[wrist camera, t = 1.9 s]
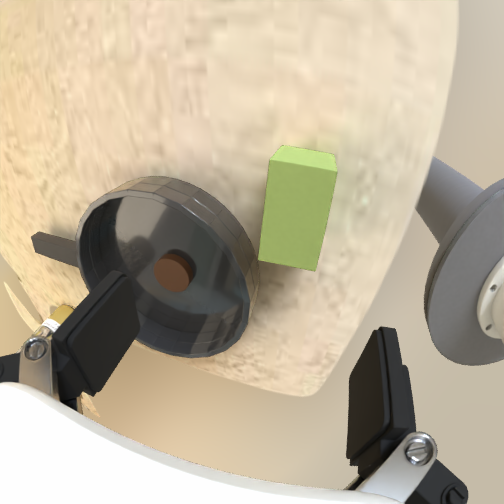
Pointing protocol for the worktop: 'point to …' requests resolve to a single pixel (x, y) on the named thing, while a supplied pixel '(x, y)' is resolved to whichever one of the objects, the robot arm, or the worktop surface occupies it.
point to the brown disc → (173, 272)
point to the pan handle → (55, 248)
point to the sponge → (296, 206)
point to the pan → (179, 243)
